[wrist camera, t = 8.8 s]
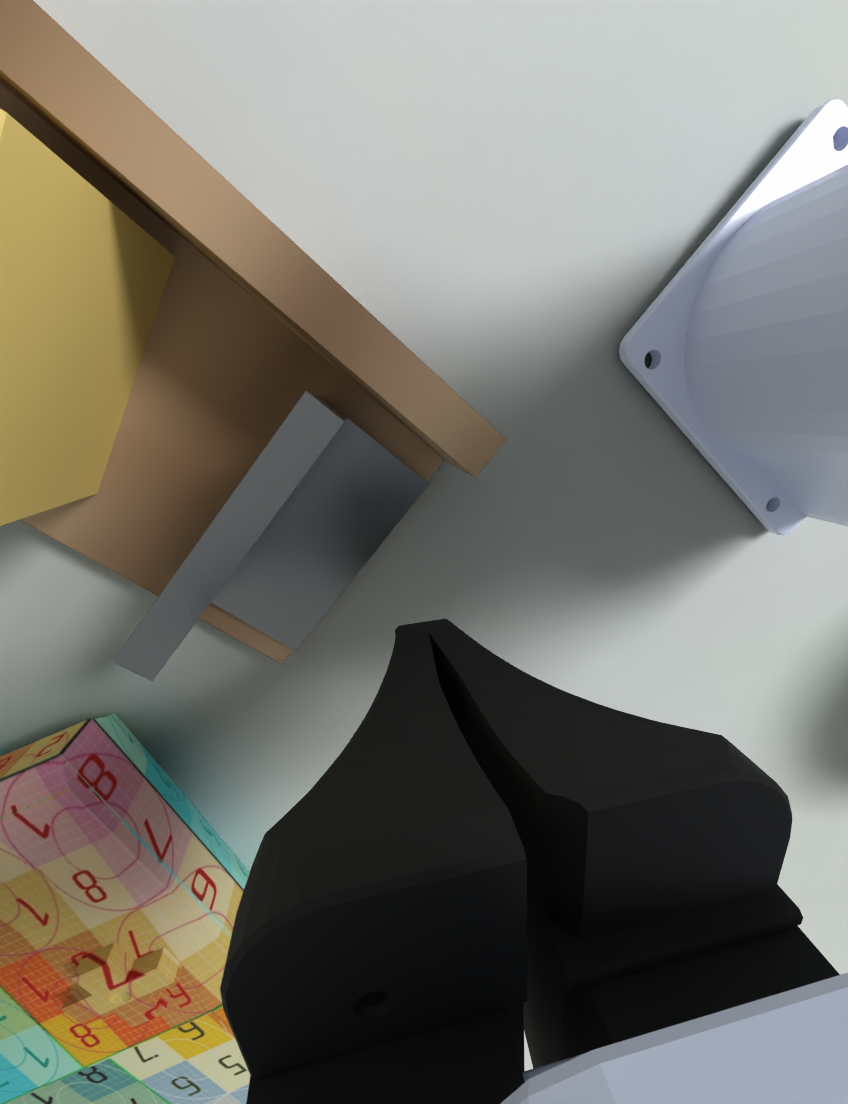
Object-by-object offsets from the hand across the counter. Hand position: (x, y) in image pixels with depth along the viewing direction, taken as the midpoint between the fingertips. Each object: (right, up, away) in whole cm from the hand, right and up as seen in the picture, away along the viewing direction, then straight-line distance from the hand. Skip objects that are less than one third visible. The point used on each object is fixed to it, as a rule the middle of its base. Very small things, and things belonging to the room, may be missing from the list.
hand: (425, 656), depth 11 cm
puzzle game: (-11, -12, +6) cm, 18 cm away
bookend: (-3, +3, +1) cm, 5 cm away
